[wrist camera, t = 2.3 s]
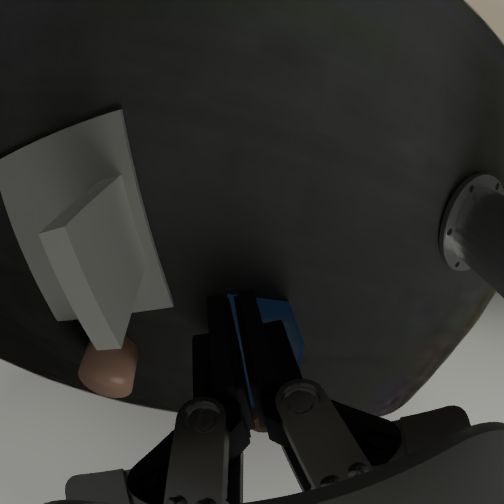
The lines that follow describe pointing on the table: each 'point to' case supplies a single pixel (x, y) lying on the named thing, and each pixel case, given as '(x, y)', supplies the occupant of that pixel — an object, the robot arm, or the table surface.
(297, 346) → the perfume bottle
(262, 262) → the table surface
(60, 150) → the mat
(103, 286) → the tile
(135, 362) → the brown rounded cylinder
